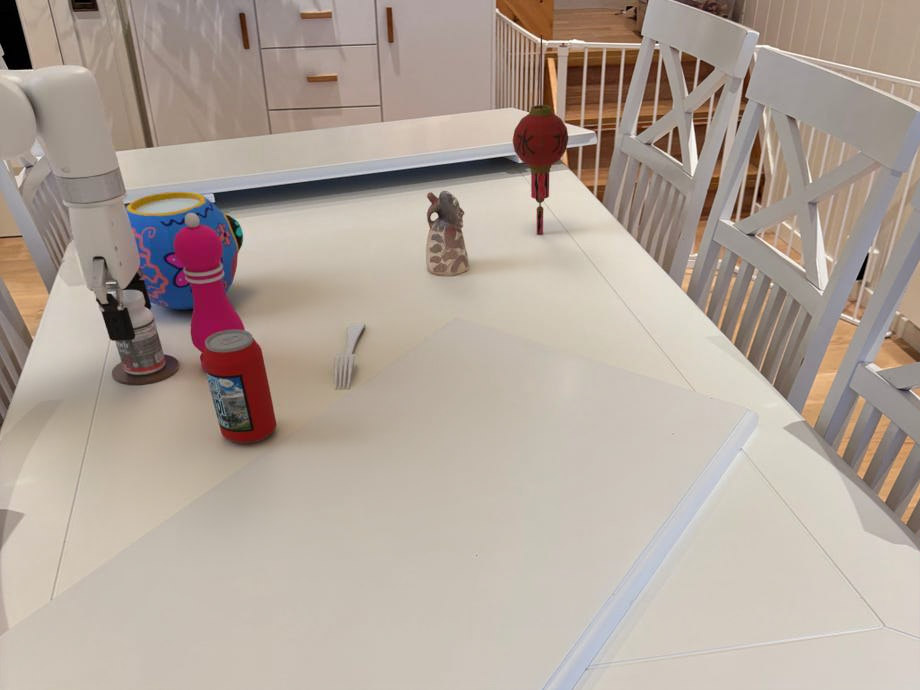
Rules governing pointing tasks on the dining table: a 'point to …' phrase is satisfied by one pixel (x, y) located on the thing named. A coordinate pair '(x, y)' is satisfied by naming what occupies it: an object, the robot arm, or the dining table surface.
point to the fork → (347, 354)
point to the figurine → (445, 237)
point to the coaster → (164, 373)
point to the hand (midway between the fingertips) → (131, 324)
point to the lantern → (540, 147)
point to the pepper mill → (205, 281)
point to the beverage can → (239, 386)
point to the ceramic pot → (155, 242)
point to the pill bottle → (140, 338)
